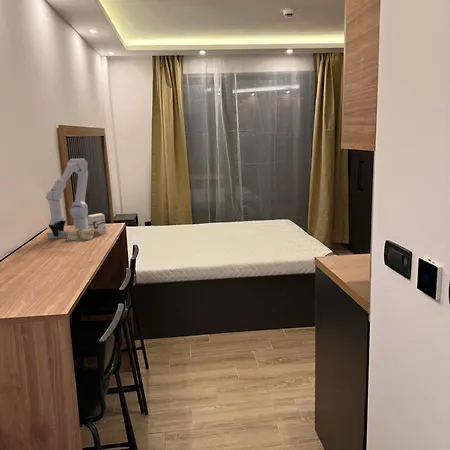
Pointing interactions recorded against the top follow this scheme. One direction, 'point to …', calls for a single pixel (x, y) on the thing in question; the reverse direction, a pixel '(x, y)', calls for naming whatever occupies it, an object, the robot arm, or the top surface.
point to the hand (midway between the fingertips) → (58, 234)
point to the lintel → (58, 234)
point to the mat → (81, 239)
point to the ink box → (97, 223)
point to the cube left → (73, 234)
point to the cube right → (87, 234)
